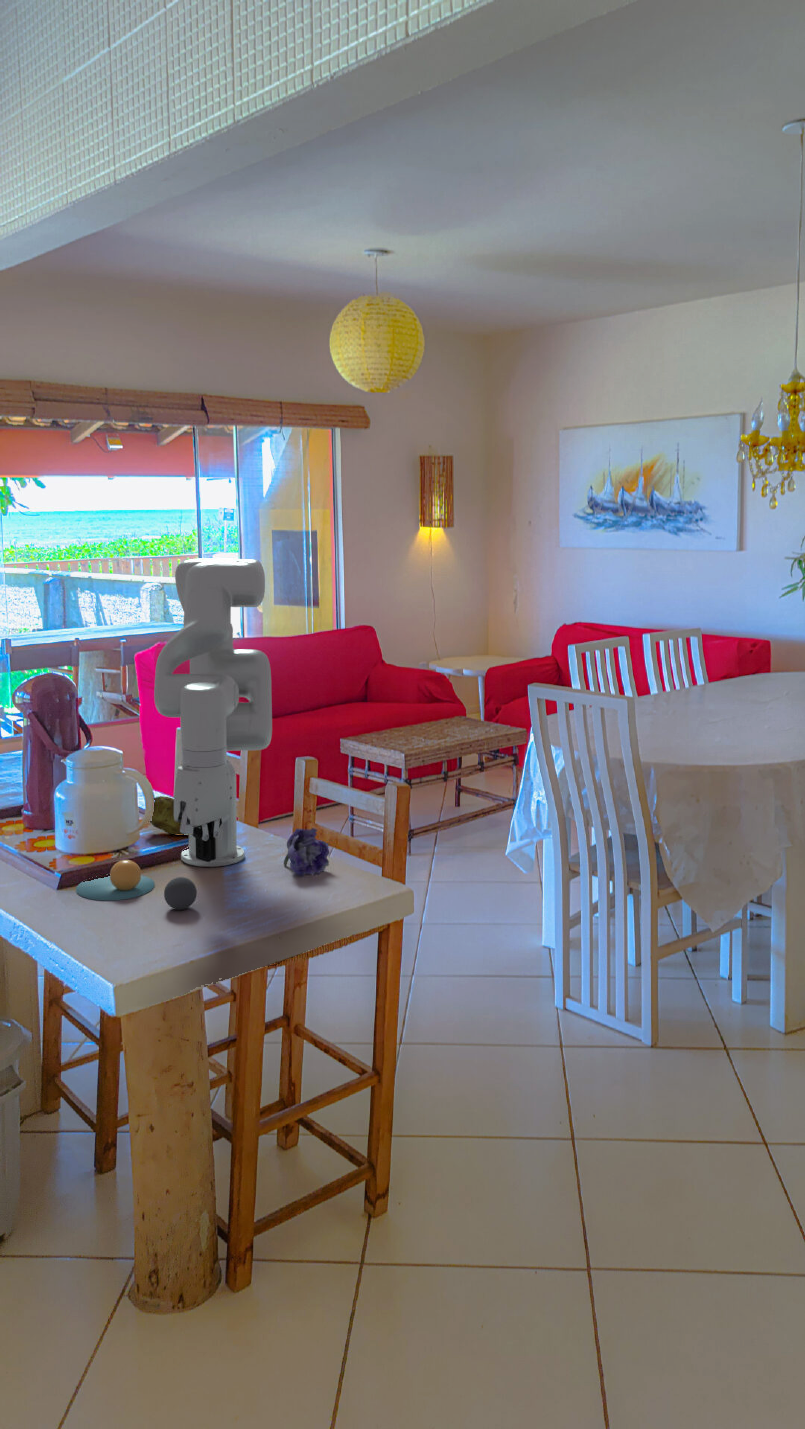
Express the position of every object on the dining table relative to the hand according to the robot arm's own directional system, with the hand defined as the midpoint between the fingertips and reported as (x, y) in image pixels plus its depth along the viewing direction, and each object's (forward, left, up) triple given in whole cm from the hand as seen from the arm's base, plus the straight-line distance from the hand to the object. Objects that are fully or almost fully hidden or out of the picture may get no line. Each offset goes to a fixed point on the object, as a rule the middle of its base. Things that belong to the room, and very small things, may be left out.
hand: (205, 858), depth 184 cm
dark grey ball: (-1, -5, -7) cm, 9 cm away
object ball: (-9, -17, -7) cm, 21 cm away
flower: (-24, +13, -10) cm, 29 cm away
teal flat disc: (-10, -20, -10) cm, 24 cm away
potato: (-45, -18, -10) cm, 49 cm away
